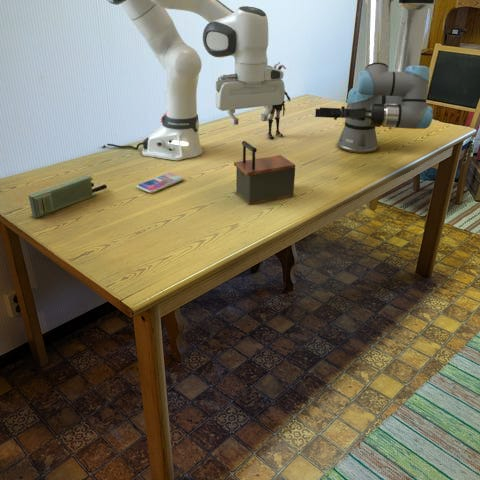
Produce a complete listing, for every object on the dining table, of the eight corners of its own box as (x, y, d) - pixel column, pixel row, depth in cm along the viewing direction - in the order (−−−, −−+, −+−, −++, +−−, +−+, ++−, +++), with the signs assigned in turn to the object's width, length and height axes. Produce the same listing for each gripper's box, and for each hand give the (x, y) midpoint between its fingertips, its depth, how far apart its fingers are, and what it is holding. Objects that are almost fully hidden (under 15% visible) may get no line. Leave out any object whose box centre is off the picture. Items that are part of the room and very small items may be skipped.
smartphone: (184, 177, 167) (150, 191, 157) (184, 180, 167) (151, 194, 157) (168, 171, 171) (134, 185, 161) (168, 174, 171) (135, 188, 161)
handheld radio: (30, 215, 144) (102, 188, 161) (37, 219, 142) (109, 191, 159) (26, 193, 140) (100, 168, 157) (33, 197, 138) (107, 171, 155)
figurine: (266, 142, 202) (269, 63, 187) (256, 138, 206) (258, 61, 191) (291, 134, 211) (296, 59, 196) (280, 131, 215) (284, 57, 200)
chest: (249, 204, 152) (249, 175, 147) (236, 193, 159) (236, 164, 154) (293, 196, 158) (295, 167, 153) (278, 185, 165) (280, 157, 160)
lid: (247, 175, 147) (247, 150, 143) (233, 165, 154) (233, 140, 150) (295, 167, 153) (297, 143, 149) (280, 157, 160) (281, 134, 156)
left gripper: (220, 77, 131) (220, 129, 138) (288, 71, 139) (285, 121, 146) (211, 73, 136) (212, 123, 143) (277, 67, 144) (275, 115, 151)
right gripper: (390, 127, 154) (320, 124, 155) (373, 126, 179) (313, 124, 180) (393, 101, 153) (322, 98, 154) (375, 105, 177) (314, 102, 178)
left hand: (249, 122), depth 145 cm, fingers open, 8 cm apart
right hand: (317, 112), depth 167 cm, fingers open, 13 cm apart
